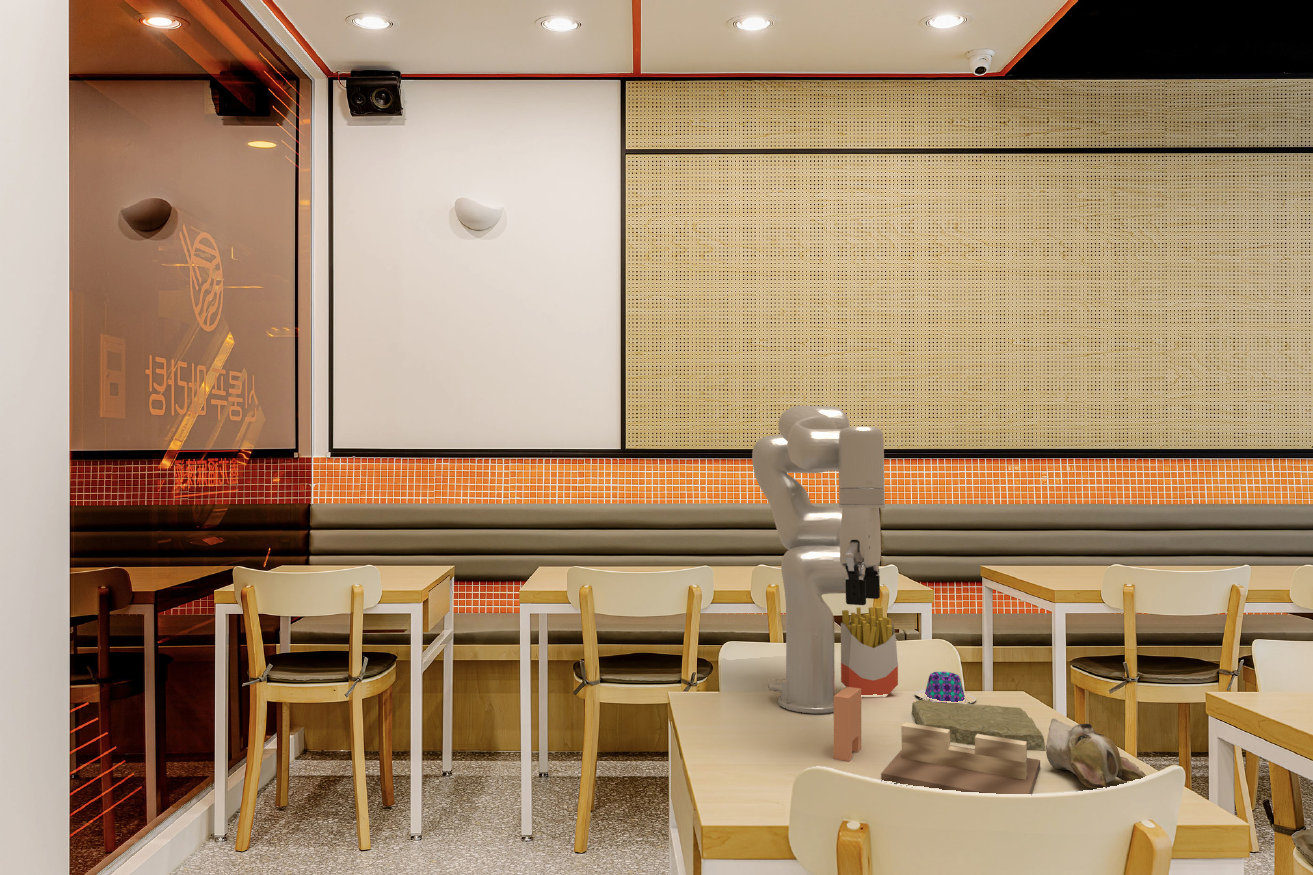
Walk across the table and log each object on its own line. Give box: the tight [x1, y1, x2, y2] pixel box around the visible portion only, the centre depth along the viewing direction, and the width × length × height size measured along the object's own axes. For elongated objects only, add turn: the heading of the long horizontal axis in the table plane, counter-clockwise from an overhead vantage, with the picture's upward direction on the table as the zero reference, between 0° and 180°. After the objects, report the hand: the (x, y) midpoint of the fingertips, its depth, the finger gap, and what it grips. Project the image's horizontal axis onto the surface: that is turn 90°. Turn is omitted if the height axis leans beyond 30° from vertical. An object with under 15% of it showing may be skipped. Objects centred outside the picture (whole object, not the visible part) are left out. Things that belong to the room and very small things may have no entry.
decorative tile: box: [911, 699, 1046, 752], centre depth 148 cm, size 19×20×4 cm
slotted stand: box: [880, 722, 1041, 795], centre depth 126 cm, size 20×19×6 cm
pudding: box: [914, 671, 977, 704], centre depth 170 cm, size 12×12×5 cm
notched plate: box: [833, 686, 862, 762], centre depth 135 cm, size 2×7×10 cm, turn 150°
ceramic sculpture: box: [1045, 718, 1147, 789], centre depth 125 cm, size 11×9×15 cm
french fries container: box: [840, 606, 899, 695], centre depth 172 cm, size 5×11×18 cm, turn 101°
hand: (863, 601), depth 138 cm, fingers open, 9 cm apart
